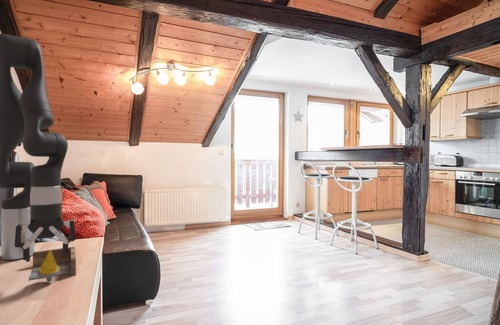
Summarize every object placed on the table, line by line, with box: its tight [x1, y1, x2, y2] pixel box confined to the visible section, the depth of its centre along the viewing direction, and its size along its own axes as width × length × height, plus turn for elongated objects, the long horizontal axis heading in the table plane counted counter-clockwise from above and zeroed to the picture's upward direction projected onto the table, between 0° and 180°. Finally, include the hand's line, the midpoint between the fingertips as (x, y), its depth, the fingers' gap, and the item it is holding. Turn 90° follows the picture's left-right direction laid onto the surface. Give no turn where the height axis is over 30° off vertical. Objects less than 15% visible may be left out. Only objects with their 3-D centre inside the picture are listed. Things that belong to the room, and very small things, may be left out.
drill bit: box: [37, 249, 60, 283], centre depth 86 cm, size 5×5×10 cm
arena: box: [28, 246, 77, 281], centre depth 95 cm, size 15×12×5 cm
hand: (46, 258), depth 86 cm, fingers open, 8 cm apart
